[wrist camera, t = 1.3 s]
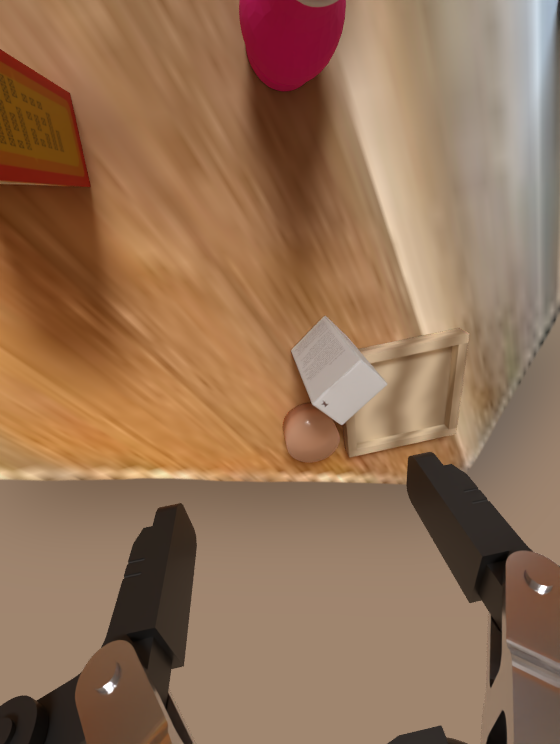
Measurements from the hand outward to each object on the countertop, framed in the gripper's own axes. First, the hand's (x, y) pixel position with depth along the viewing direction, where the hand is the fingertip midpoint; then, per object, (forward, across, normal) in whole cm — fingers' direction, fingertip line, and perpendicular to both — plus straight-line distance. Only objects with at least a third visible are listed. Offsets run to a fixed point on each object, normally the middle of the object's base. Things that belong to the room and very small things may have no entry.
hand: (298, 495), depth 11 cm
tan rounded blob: (+28, -4, +20) cm, 34 cm away
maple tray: (+28, -17, +17) cm, 37 cm away
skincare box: (+28, -6, +8) cm, 29 cm away
